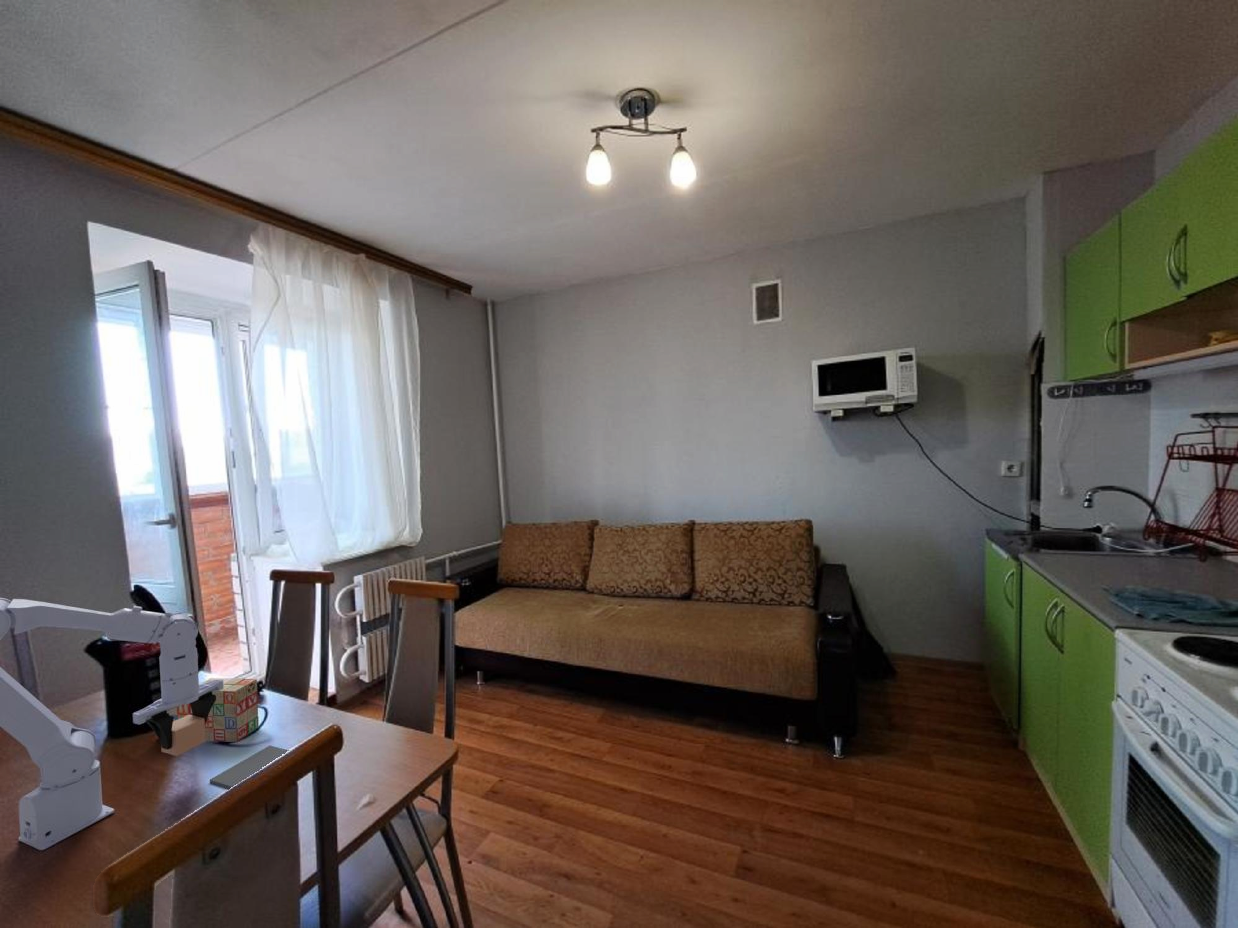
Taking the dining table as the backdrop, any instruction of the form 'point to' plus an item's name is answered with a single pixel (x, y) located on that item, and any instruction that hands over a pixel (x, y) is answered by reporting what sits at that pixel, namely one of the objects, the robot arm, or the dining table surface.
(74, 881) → the dining table surface
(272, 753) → the charcoal mat
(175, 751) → the tan cube
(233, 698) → the stack of blocks
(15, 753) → the dining table surface
